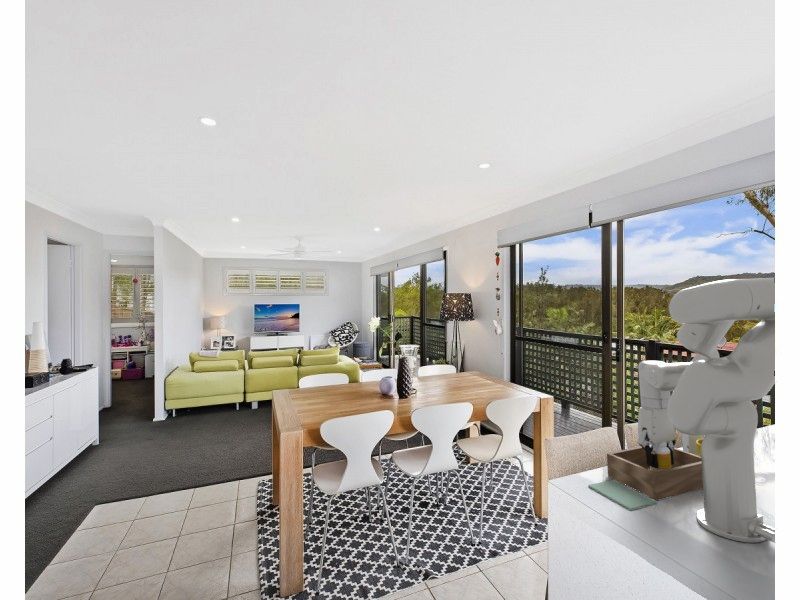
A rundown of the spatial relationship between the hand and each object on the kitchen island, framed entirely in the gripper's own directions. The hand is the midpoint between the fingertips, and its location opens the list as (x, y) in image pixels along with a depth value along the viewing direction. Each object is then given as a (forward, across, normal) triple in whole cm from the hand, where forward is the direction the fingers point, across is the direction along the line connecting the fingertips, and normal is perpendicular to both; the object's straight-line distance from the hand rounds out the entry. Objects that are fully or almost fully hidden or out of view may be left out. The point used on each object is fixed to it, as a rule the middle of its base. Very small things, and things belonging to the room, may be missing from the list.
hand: (660, 464), depth 113 cm
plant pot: (+5, -18, +4) cm, 19 cm away
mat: (+5, +17, +1) cm, 18 cm away
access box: (+5, 0, -1) cm, 5 cm away
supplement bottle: (+3, 0, 0) cm, 3 cm away
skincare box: (+5, -22, -6) cm, 24 cm away
